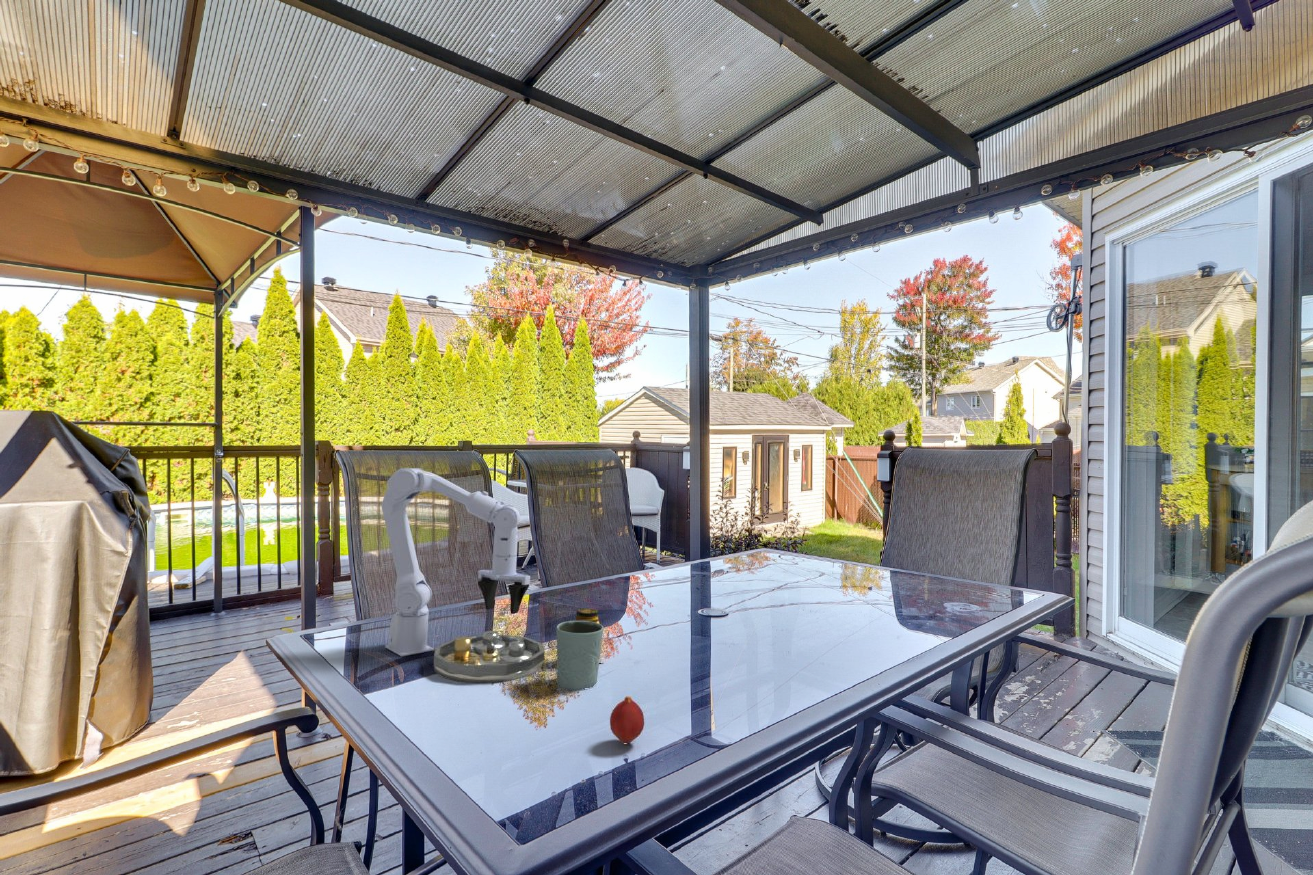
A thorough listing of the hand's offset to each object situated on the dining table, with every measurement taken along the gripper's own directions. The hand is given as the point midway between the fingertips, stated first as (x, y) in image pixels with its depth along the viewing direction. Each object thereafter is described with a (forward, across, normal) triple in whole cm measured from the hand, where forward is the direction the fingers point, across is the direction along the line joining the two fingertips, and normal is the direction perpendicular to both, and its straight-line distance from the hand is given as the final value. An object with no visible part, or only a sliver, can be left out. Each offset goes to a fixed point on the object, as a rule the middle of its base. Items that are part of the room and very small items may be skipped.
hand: (501, 610), depth 153 cm
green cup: (+10, +28, -8) cm, 31 cm away
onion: (+10, +50, -29) cm, 59 cm away
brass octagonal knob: (+8, +2, -16) cm, 18 cm away
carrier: (+10, +4, -9) cm, 14 cm away
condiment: (+10, +21, +5) cm, 23 cm away
